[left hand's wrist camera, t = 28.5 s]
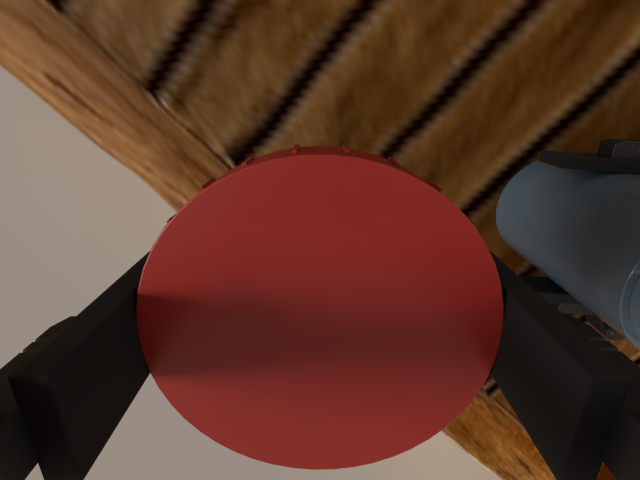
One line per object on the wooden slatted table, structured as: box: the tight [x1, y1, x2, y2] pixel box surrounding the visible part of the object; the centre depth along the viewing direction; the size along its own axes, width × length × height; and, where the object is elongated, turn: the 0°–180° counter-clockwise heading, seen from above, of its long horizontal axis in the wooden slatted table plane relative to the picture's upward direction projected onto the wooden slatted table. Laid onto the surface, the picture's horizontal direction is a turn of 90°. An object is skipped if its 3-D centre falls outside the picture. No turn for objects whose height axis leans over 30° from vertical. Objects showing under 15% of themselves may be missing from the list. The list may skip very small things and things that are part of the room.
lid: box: [136, 144, 504, 469], centre depth 11 cm, size 10×10×2 cm
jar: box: [496, 161, 640, 350], centre depth 25 cm, size 9×9×16 cm
